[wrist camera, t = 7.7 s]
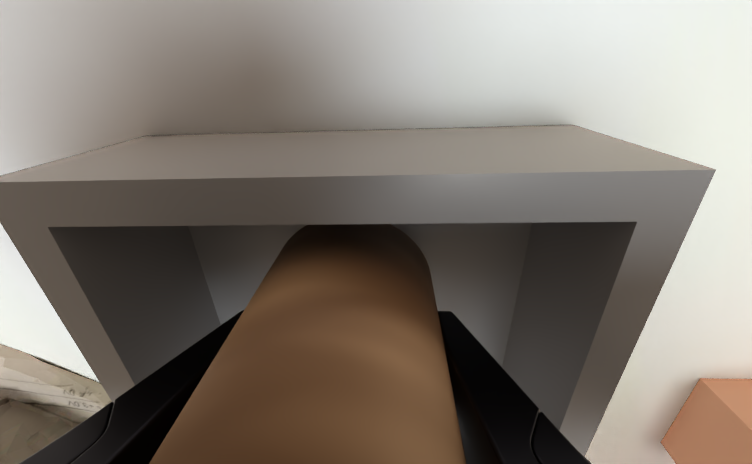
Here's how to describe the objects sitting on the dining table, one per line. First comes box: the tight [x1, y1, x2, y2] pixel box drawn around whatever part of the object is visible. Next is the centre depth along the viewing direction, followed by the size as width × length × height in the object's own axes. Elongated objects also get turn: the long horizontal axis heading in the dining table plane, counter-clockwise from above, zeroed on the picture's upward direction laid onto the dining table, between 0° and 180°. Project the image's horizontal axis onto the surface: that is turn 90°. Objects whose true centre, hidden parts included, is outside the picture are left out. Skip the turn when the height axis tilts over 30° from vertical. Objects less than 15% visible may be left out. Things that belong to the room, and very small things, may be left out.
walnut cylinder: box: [149, 224, 466, 464], centre depth 7 cm, size 5×5×7 cm
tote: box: [0, 125, 716, 456], centre depth 12 cm, size 14×18×5 cm
